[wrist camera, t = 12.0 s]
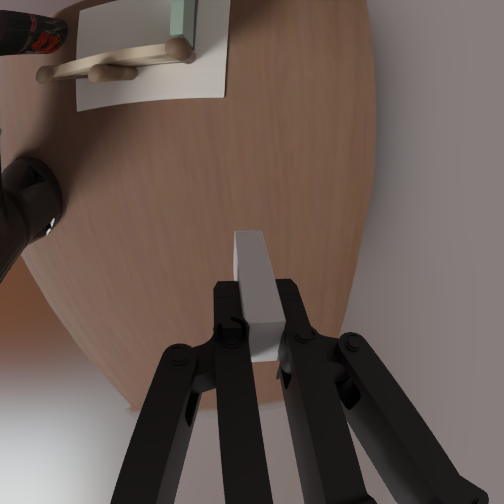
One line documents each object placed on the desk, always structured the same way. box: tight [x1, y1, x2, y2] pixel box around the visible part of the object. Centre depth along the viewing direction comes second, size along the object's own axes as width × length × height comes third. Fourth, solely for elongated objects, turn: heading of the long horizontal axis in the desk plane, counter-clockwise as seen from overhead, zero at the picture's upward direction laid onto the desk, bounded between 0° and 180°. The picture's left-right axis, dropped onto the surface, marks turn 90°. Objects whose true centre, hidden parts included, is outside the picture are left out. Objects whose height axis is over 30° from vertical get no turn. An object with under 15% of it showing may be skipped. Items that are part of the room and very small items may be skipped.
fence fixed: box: [36, 38, 196, 83], centre depth 24 cm, size 17×4×12 cm, turn 86°
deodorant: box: [0, 10, 68, 56], centre depth 16 cm, size 6×6×15 cm
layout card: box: [76, 0, 231, 112], centre depth 27 cm, size 22×17×1 cm
